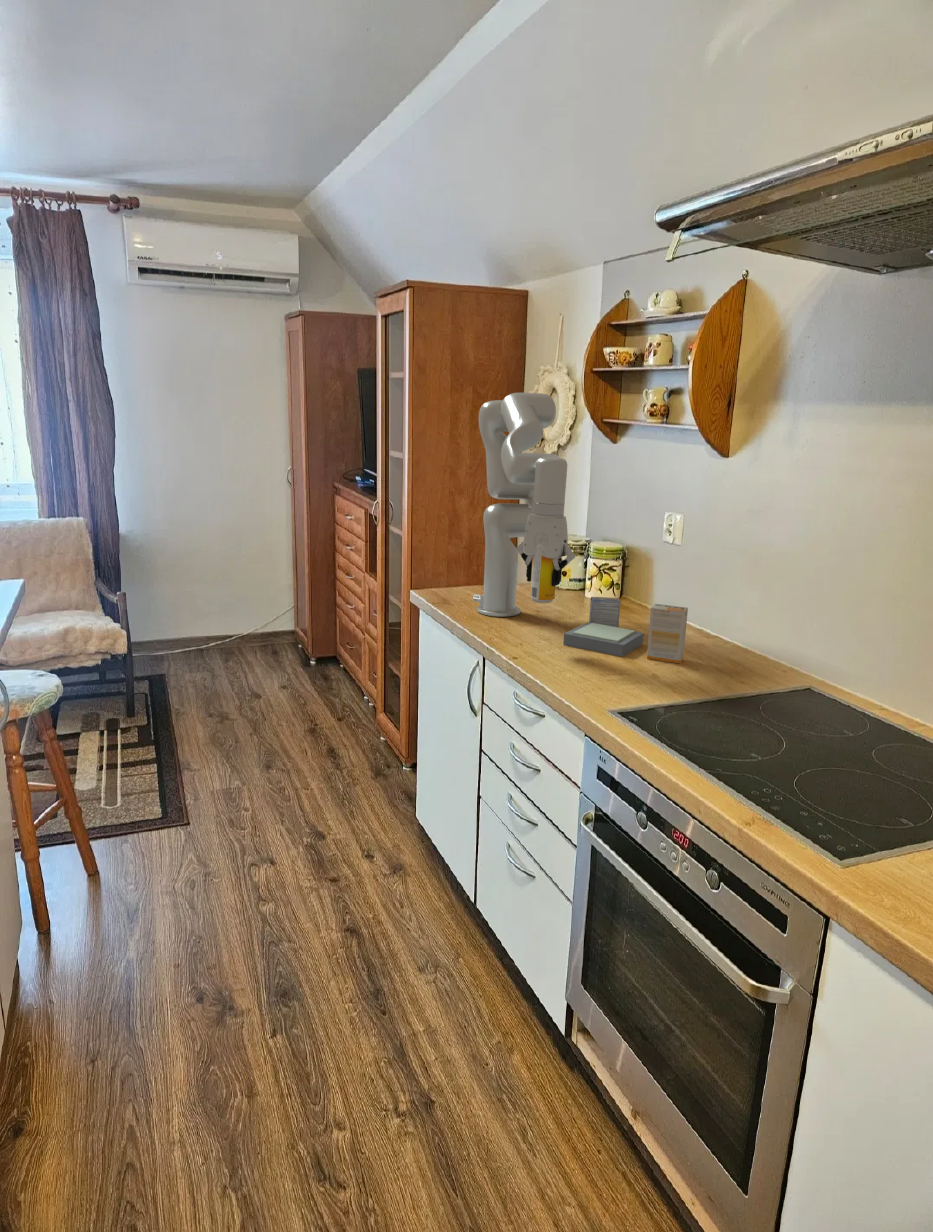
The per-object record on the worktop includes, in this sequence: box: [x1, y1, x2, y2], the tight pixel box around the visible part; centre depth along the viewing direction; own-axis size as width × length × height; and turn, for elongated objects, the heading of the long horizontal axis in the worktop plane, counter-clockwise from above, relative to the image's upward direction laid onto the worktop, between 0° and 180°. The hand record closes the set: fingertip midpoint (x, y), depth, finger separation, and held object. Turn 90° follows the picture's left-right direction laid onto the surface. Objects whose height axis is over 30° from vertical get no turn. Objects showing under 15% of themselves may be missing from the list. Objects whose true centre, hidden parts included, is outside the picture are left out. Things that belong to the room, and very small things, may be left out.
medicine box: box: [588, 596, 622, 628], centre depth 223 cm, size 8×4×9 cm, turn 84°
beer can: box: [529, 544, 556, 604], centre depth 199 cm, size 6×6×15 cm
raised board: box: [562, 622, 645, 658], centre depth 209 cm, size 16×14×4 cm
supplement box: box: [646, 603, 689, 664], centre depth 197 cm, size 8×5×13 cm, turn 65°
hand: (543, 582), depth 200 cm, fingers closed on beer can, 6 cm apart
